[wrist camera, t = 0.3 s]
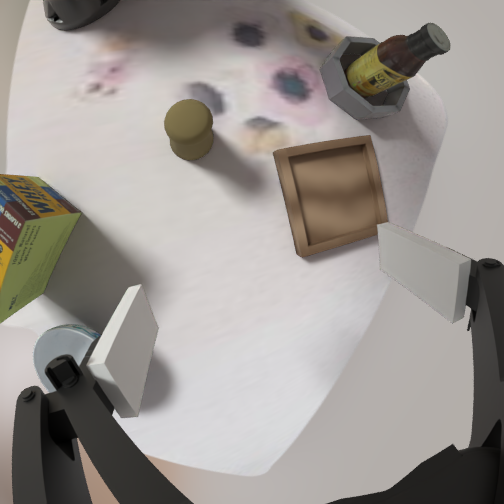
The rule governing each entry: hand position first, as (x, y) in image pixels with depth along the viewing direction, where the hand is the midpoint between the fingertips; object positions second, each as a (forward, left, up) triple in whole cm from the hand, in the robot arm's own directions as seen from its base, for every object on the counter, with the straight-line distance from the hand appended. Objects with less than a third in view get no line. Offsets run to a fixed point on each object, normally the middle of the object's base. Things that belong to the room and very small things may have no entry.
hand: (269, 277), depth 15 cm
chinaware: (+13, -27, -26) cm, 40 cm away
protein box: (-7, -29, -26) cm, 40 cm away
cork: (-13, -2, -26) cm, 29 cm away
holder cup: (-18, +26, -26) cm, 41 cm away
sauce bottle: (-18, +26, -26) cm, 41 cm away
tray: (-1, +16, -26) cm, 31 cm away
